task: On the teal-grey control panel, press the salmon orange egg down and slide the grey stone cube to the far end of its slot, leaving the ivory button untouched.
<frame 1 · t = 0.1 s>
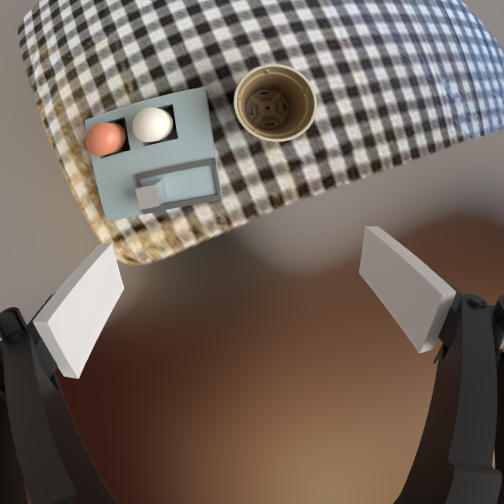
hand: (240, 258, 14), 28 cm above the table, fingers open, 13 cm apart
panel: (153, 154, 36), on the table
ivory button: (153, 124, 31), point 5 cm above the table, slide at 0.0 cm
grey stone cube: (151, 193, 34), point 5 cm above the table, slide at 0.0 cm
salmon orange egg: (105, 138, 30), point 5 cm above the table, slide at 0.0 cm
flower pot: (266, 108, 35), on the table
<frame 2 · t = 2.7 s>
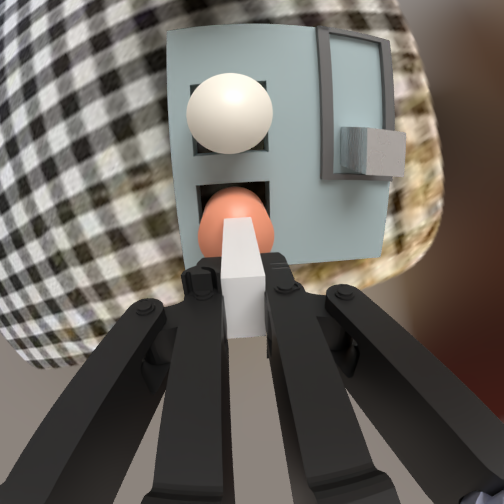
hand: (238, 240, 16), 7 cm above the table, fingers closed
panel: (283, 142, 20), on the table
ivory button: (229, 115, 14), point 5 cm above the table, slide at 0.0 cm
grey stone cube: (371, 149, 16), point 5 cm above the table, slide at 0.0 cm
salmon orange egg: (235, 226, 18), point 4 cm above the table, slide at 0.3 cm, touching gripper
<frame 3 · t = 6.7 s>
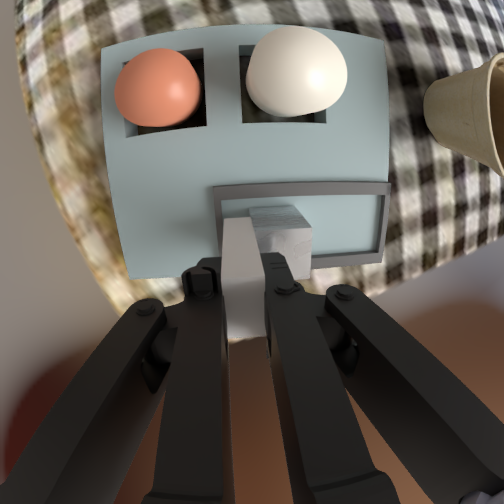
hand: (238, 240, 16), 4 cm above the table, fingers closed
panel: (249, 146, 17), on the table
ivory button: (291, 75, 12), point 5 cm above the table, slide at 0.0 cm
grey stone cube: (277, 240, 15), point 5 cm above the table, slide at 1.0 cm, touching gripper
salmon orange egg: (162, 91, 13), point 3 cm above the table, slide at 2.1 cm
flower pot: (445, 112, 17), on the table
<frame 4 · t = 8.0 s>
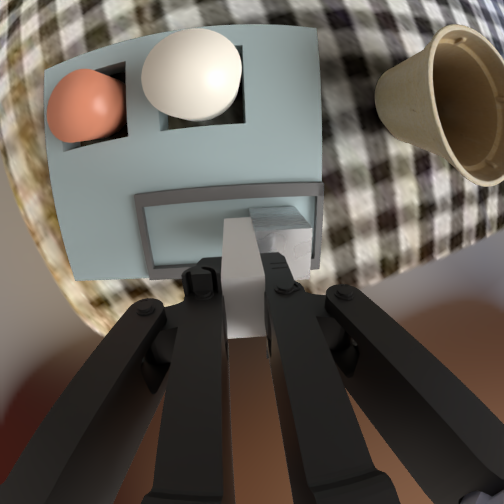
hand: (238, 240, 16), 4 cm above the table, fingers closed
panel: (177, 151, 17), on the table
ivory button: (195, 78, 11), point 5 cm above the table, slide at 0.0 cm
grey stone cube: (277, 240, 15), point 5 cm above the table, slide at 5.9 cm, touching gripper
salmon orange egg: (90, 106, 13), point 3 cm above the table, slide at 2.1 cm
flower pot: (404, 103, 17), on the table
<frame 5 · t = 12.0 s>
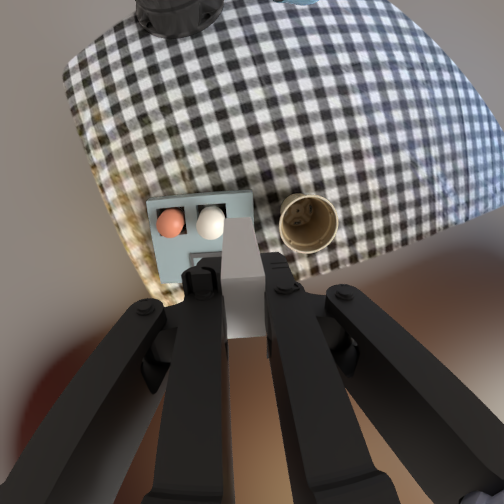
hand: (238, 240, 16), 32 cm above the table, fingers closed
panel: (203, 235, 50), on the table
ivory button: (211, 222, 44), point 5 cm above the table, slide at 0.0 cm
salmon orange egg: (171, 221, 45), point 3 cm above the table, slide at 2.1 cm
flower pot: (296, 209, 49), on the table
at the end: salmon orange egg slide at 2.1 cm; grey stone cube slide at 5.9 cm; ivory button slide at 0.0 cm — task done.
